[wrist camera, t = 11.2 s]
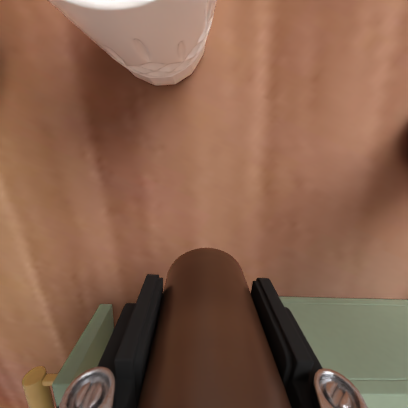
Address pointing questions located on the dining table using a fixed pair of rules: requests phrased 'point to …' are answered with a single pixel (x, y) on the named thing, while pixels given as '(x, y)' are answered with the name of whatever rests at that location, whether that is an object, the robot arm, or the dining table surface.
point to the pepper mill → (210, 341)
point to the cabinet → (359, 343)
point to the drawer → (71, 362)
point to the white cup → (146, 33)
